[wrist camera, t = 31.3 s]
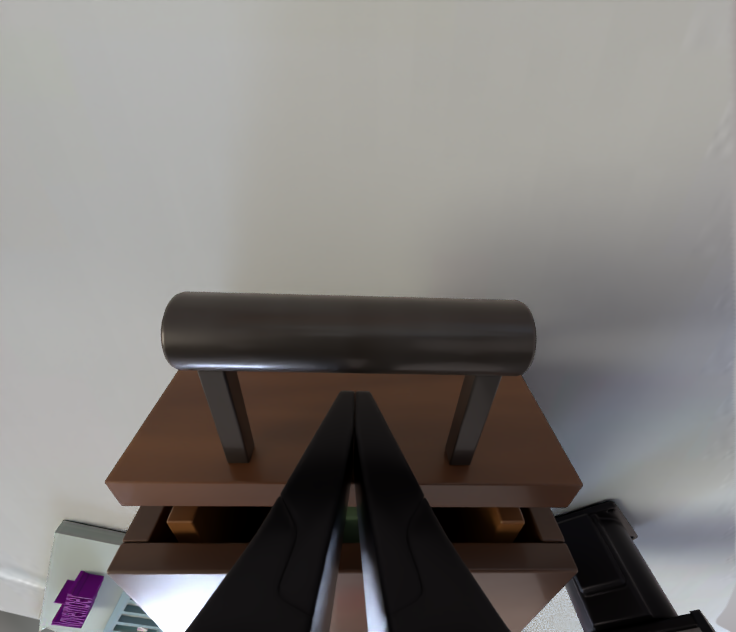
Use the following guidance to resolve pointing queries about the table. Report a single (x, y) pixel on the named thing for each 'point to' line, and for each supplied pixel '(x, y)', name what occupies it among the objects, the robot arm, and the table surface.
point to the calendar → (88, 585)
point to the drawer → (318, 392)
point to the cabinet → (349, 618)
